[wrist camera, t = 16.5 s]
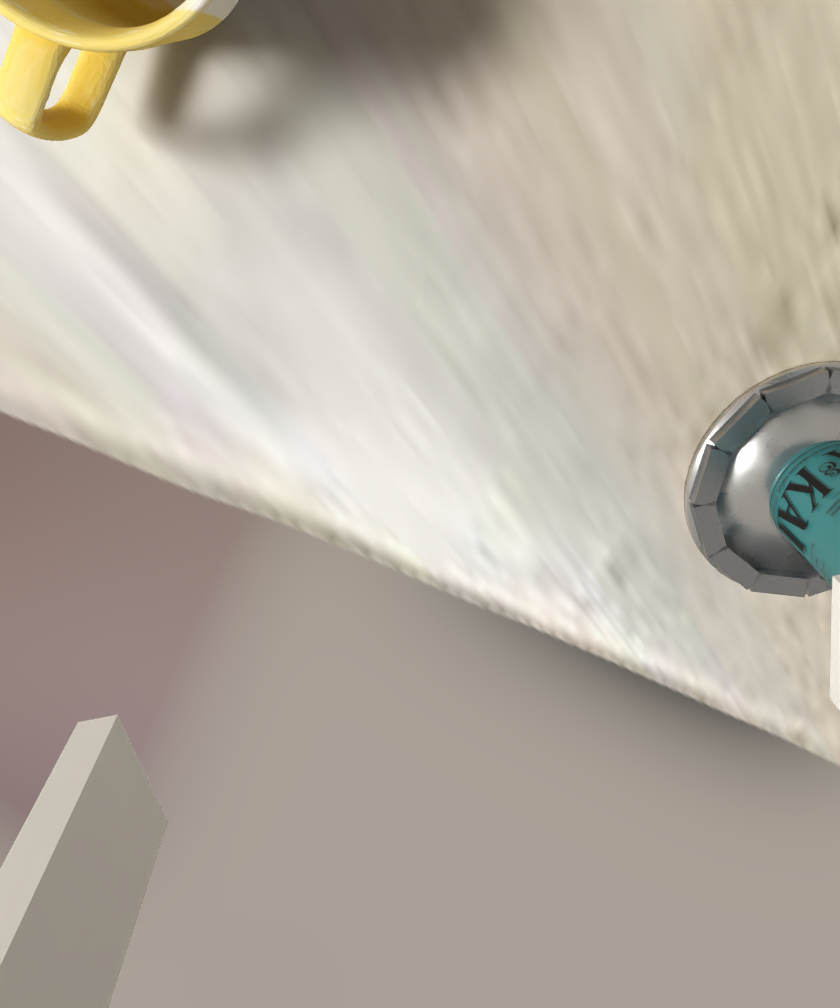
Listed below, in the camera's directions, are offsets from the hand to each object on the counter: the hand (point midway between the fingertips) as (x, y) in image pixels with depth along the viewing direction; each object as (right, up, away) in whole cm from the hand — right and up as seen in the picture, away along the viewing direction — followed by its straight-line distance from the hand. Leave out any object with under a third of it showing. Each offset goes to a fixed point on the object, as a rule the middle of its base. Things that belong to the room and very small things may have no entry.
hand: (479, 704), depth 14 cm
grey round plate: (+21, +5, +30) cm, 37 cm away
